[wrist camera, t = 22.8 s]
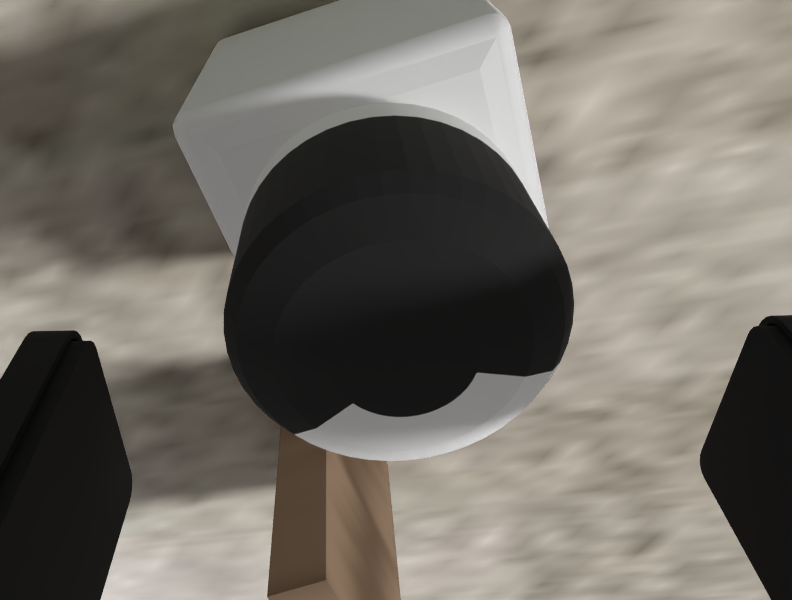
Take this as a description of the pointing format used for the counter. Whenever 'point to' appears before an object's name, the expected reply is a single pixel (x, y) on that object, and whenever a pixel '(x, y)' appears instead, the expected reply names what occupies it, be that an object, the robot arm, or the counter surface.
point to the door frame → (331, 527)
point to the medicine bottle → (380, 224)
